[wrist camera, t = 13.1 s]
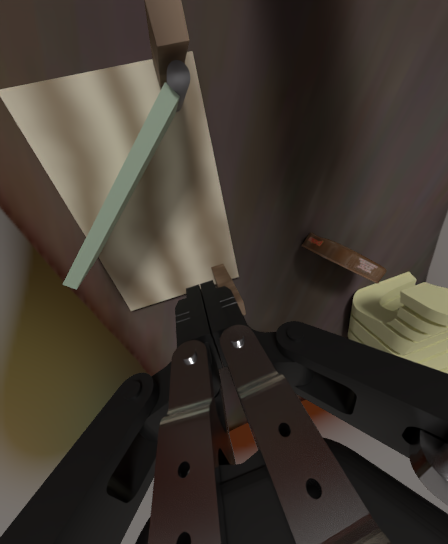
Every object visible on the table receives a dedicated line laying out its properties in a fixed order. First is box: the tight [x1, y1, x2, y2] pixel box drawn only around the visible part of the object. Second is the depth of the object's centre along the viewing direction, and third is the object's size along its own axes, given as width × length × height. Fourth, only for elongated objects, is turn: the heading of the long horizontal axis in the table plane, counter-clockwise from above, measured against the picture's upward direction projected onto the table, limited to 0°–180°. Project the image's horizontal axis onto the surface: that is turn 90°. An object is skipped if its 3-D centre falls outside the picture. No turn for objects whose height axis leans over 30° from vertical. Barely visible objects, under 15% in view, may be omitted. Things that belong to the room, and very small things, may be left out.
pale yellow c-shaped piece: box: [348, 272, 448, 373], centre depth 41 cm, size 30×16×18 cm, turn 13°
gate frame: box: [0, 0, 246, 315], centre depth 22 cm, size 18×27×11 cm, turn 12°
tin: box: [301, 233, 386, 284], centre depth 33 cm, size 15×3×8 cm, turn 63°
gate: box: [63, 60, 190, 290], centre depth 20 cm, size 2×21×8 cm, turn 143°
